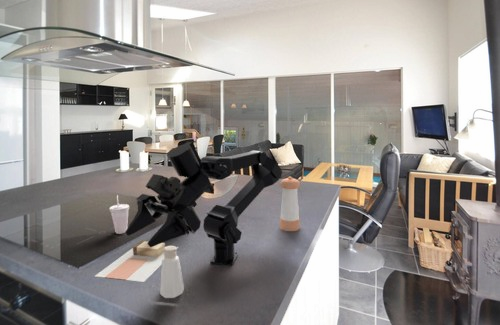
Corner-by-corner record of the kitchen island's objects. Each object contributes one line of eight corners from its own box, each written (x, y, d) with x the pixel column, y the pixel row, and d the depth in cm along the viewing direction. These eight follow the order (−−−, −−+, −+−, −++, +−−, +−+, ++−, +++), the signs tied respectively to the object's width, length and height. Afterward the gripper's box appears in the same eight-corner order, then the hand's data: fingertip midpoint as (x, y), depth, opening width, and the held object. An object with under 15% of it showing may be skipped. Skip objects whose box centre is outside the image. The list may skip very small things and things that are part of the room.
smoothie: (107, 235, 96) (103, 196, 94) (119, 228, 102) (116, 192, 100) (123, 237, 94) (120, 197, 92) (135, 229, 101) (132, 192, 99)
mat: (138, 244, 88) (138, 243, 88) (178, 248, 85) (178, 246, 85) (94, 277, 70) (94, 275, 70) (144, 283, 67) (143, 281, 67)
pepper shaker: (175, 302, 60) (172, 255, 58) (155, 297, 62) (151, 251, 60) (189, 288, 65) (187, 244, 63) (170, 283, 67) (167, 241, 65)
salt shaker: (278, 230, 99) (278, 178, 96) (281, 223, 106) (281, 174, 103) (298, 232, 97) (299, 179, 94) (300, 224, 104) (301, 175, 101)
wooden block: (133, 254, 81) (132, 246, 80) (141, 248, 85) (140, 240, 84) (158, 257, 79) (157, 249, 79) (165, 250, 83) (164, 242, 83)
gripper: (151, 161, 68) (95, 203, 59) (199, 168, 56) (139, 221, 47) (171, 195, 74) (123, 238, 64) (220, 207, 62) (170, 262, 53)
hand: (137, 239), depth 57 cm, fingers open, 9 cm apart
